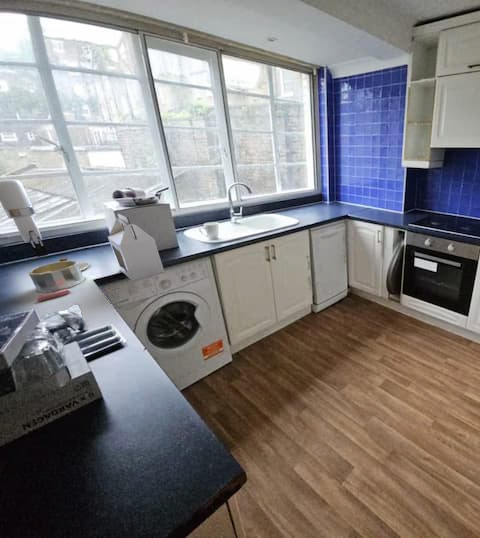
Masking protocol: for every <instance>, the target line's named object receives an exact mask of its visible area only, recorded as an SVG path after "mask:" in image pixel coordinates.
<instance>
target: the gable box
mask: <svg viewBox="0 0 480 538" xmlns="http://www.w3.org/2000/svg"><path fill="white" fill-rule="evenodd" d="M114 218H115V219H116V220H115V221H114V223H113V226H112V228H111V230H110V233H109V235H108V236H107V239H108V242H109V244H110V247H111V250H112V251H113V255H114V257H115V260H116V263H117V266H118V268H119V270H120V271H121V273H122V274H124V275H125V276H126V277H127V278H128V279H130V281H132V282H136V281H139V280H143V279H147V278H151V277H154V276H156V275H160V274H163V273H165V268H164V266H163V263H162V260H161V257H160V254H159V250H158V248H157V243H156V241H155V238H154V237H152V236H151V235H149V234H148V233H147V232H146V231H144V230H143V229H142V228H141V227H139V226H138V225H137V224H134V223H131V222H130V221H131V220H130V219H129V217H128V216H125V215H123V214H121V213H117V216H114Z"/></svg>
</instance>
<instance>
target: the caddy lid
mask: <svg viewBox="0 0 480 538" xmlns="http://www.w3.org/2000/svg"><path fill="white" fill-rule="evenodd" d="M61 261H69V259H68V257H60V258H58V262H61ZM77 263H78V265H79V268H80V270H81V271H83V270H86V269H87V268H89V267H90V263H89V262H77Z"/></svg>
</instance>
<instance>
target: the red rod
mask: <svg viewBox="0 0 480 538" xmlns="http://www.w3.org/2000/svg"><path fill="white" fill-rule="evenodd" d="M70 293H71V290H70V289H69V288H66V289H62V290H58V291H53V292H49V293H47V294H43V295H41V296H38V297H36V301H38V302H43V301H47V300H50V299H51V300H52V299H54V298H58V297H62V296H65V295H68V294H70Z"/></svg>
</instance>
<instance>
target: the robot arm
mask: <svg viewBox="0 0 480 538" xmlns="http://www.w3.org/2000/svg"><path fill="white" fill-rule="evenodd" d="M0 205H1V207H2V208H3V210H4V212H5V214H6V216H7V217H8V219H13V222H14V224H15V227H16V228H17V230H18V232H19V234H20V236H21V238H22V240H23V241H24V243H27V244H29V246H30V247H31V249H32V252H33V253H35V255H36V257H37V258H39V257H44V256H48V255H49V253H48V250H47V248H46V247H45V245H44V244H43V242H42V240H43V236H42V235H41V232H40V229H39V226H38V225H37V222H36V220H35V218H34V216H37V212H36V211H35V208H34V207H33V205H32V202H31V200H30V198H29V196H28V194H27V192H26V190H25V188H24V185H23V183H22V182H21V181H20V180H18V179H0Z"/></svg>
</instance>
